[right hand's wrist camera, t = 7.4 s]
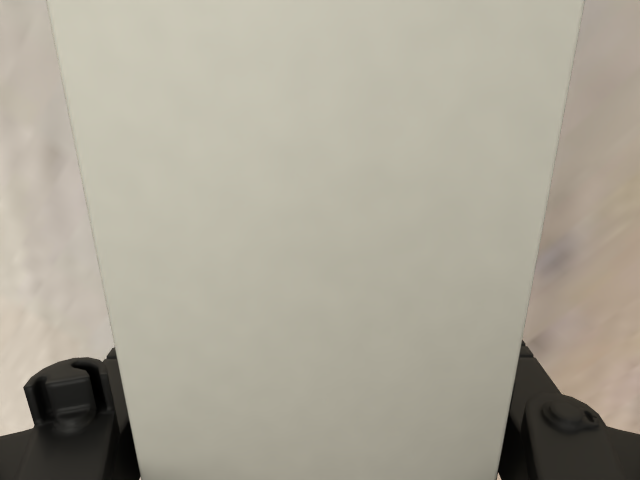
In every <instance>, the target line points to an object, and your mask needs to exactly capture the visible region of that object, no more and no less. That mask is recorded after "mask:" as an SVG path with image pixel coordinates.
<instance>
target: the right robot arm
mask: <svg viewBox="0 0 640 480" xmlns="http://www.w3.org/2000/svg"><path fill="white" fill-rule="evenodd" d="M23 388H24V391H25V395H26V398H27V401H28V405H29V408H30V411H31V415H32V418H33V421H34V428H32V429H29V430H25V431H22V432H17V433H13V434H9V435H4V436H0V480H139V479H140V476H141V475H140V470H139V465H138V460H137V455H136V450H135V445H134V440H133V435H132V430H131V425H130V420H129V415H128V410H127V405H126V400H125V395H124V390H123V385H122V380H121V375H120V370H119V365H118V360H117V355H116V350H115V348H112V350H111V351H110V353H109V354H108V355H107V359H105V360H104V361H103V362H101V361H100V360H98V359H93V358H89V357H85V358H72V359H68V360H64V361H60V362H57V363H55V364H53V365H50V366H48V367H46V368H44V369H42V370H41V371H39V372H38V373H37V374H35V375H34V376H32V377H31V378H30V379H29V381H28V382H27V383H26V385H25V386H24V387H23ZM498 473H499V475H500V477H501V480H640V434H635V433H631V432H627V431H622V430H618V429H614V428H611V427H608V426H606V425H605V423H604V422H603V420H602V419H601V417H600V416H599V414H598V413H597V412H595V411H594V410H593V409H592V408H590V407H589V406H588V405H587V404H585V403H583V402H581V401H579V400H577V399H575V398H573V397H570V396H566V395H562V394H561V393H560V391H559V390H558V388H557V387H556V386H555V384H554V383H553V381H552V380H551V379H550V377H549V376H548V375H547V373H546V372H545V370H544V369H543V368H542V366H541V365H540V363H539V362H538V361H537V359H536V358H534V357H533V354H532V352H531V351H530V350H529V348H528V347H527V346H525V343H524V341H523V340H522V342H521V348H520V353H519V359H518V364H517V369H516V375H515V380H514V386H513V391H512V396H511V402H510V407H509V413H508V418H507V423H506V429H505V434H504V439H503V445H502V450H501V456H500V461H499V466H498V472H497V475H498ZM496 480H497V477H496Z"/></svg>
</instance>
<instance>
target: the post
mask: <svg viewBox="0 0 640 480" xmlns="http://www.w3.org/2000/svg"><path fill="white" fill-rule="evenodd" d="M46 3H47V8H48V13H49V18H50V23H51V28H52V33H53V38H54V43H55V48H56V53H57V59H58V64H59V69H60V74H61V79H62V84H63V89H64V94H65V99H66V104H67V109H68V114H69V119H70V124H71V129H72V134H73V139H74V144H75V149H76V154H77V159H78V164H79V169H80V174H81V179H82V184H83V189H84V194H85V199H86V204H87V209H88V214H89V219H90V224H91V229H92V234H93V239H94V244H95V249H96V254H97V259H98V264H99V269H100V274H101V279H102V284H103V289H104V294H105V299H106V304H107V309H108V314H109V320H110V325H111V330H112V335H113V340H114V345H115V350H116V355H117V360H118V365H119V370H120V375H121V380H122V385H123V390H124V395H125V400H126V405H127V410H128V415H129V420H130V425H131V430H132V435H133V440H134V445H135V450H136V455H137V460H138V465H139V470H140V475H141V480H496V477H497V472H498V466H499V461H500V456H501V450H502V445H503V439H504V434H505V429H506V423H507V418H508V413H509V407H510V402H511V396H512V391H513V386H514V380H515V375H516V369H517V364H518V359H519V353H520V348H521V342H522V337H523V332H524V326H525V321H526V316H527V310H528V305H529V299H530V294H531V289H532V283H533V278H534V272H535V267H536V262H537V256H538V251H539V246H540V240H541V235H542V229H543V224H544V219H545V213H546V208H547V202H548V197H549V192H550V186H551V181H552V175H553V170H554V165H555V159H556V154H557V149H558V143H559V138H560V132H561V127H562V122H563V116H564V111H565V105H566V100H567V95H568V89H569V84H570V78H571V73H572V68H573V62H574V57H575V52H576V46H577V41H578V35H579V30H580V25H581V19H582V14H583V8H584V3H585V0H46Z"/></svg>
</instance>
